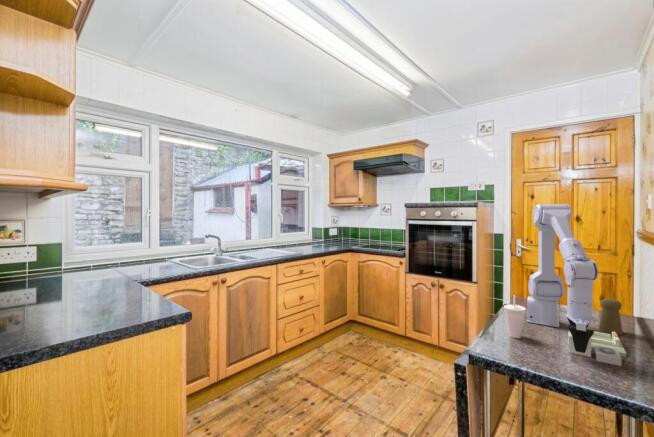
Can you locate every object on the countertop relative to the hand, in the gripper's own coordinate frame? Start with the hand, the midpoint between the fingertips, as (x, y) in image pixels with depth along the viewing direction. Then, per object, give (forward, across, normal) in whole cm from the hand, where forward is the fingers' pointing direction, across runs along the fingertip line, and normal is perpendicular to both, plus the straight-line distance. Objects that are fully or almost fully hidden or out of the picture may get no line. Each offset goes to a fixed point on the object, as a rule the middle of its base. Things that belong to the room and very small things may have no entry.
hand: (579, 346), depth 90 cm
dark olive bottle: (+2, +24, -10) cm, 26 cm away
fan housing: (+2, -1, -6) cm, 6 cm away
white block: (+2, 0, 0) cm, 2 cm away
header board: (+2, +10, -4) cm, 11 cm away
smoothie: (+2, +2, +16) cm, 17 cm away
